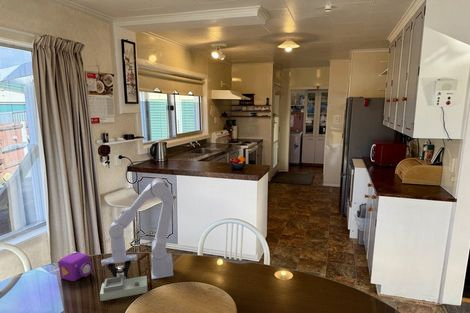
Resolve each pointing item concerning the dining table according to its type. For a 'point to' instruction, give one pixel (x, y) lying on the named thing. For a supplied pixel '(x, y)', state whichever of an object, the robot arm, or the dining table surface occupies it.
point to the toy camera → (75, 266)
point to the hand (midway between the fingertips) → (121, 277)
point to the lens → (120, 271)
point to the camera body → (122, 287)
